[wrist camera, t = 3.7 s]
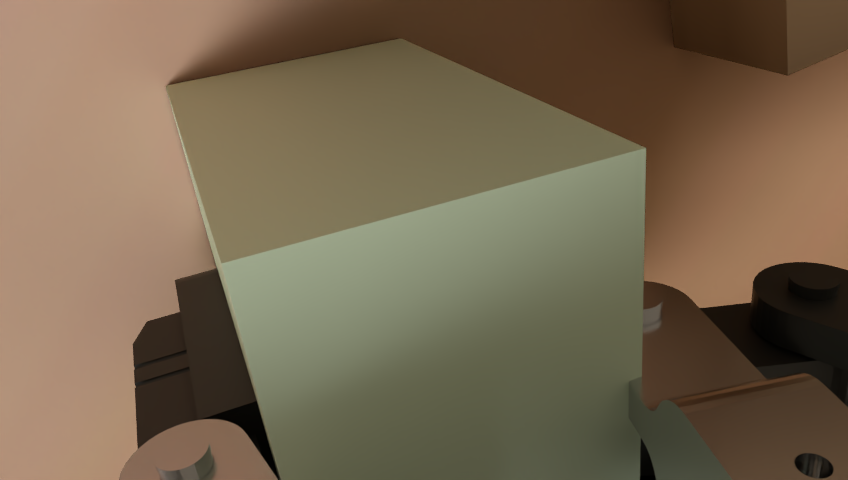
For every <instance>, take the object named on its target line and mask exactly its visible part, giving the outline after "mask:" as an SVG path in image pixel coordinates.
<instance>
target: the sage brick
mask: <svg viewBox="0 0 848 480" xmlns="http://www.w3.org/2000/svg"><path fill="white" fill-rule="evenodd" d="M166 90H167V93H168V97H169V100H170V104H171V107H172V111H173V115H174V118H175V122H176V125H177V129H178V132H179V136H180V139H181V143H182V146H183V150H184V154H185V157H186V161H187V164H188V168H189V171H190V175H191V178H192V182H193V185H194V189H195V193H196V196H197V200H198V203H199V207H200V210H201V214H202V217H203V221H204V225H205V228H206V232H207V235H208V239H209V242H210V246H211V249H212V253H213V256H214V260H215V264H216V267H217V269H218V272H219V276H220V279H221V282H222V286H223V289H224V292H225V296H226V299H227V302H228V306H229V309H230V312H231V316H232V319H233V322H234V326H235V329H236V333H237V336H238V339H239V343H240V346H241V349H242V353H243V356H244V359H245V363H246V366H247V369H248V373H249V376H250V379H251V383H252V386H253V389H254V393H255V396H256V399H257V403H258V406H259V410H260V414H261V417H262V421H263V424H264V428H265V431H266V435H267V439H268V442H269V446H270V449H271V453H272V456H273V460H274V464H275V467H276V471H277V474H278V478H279V480H640V446H641V437H640V435H639V434H638V432H637V431H636V429H635V427H634V426H633V424H632V423H631V421H630V419H629V418H628V412H629V381H631V380H634V379H636V378H639V377H642V340H643V287H644V234H645V181H646V148H645V147H643V146H641V145H638V144H636V143H634V142H632V141H629V140H627V139H625V138H623V137H621V136H618V135H616V134H614V133H612V132H609V131H607V130H605V129H603V128H600V127H598V126H596V125H594V124H591V123H589V122H587V121H585V120H583V119H580V118H578V117H576V116H574V115H571V114H569V113H567V112H565V111H562V110H560V109H558V108H556V107H554V106H551V105H549V104H547V103H545V102H542V101H540V100H538V99H536V98H533V97H531V96H529V95H527V94H524V93H522V92H520V91H518V90H516V89H513V88H511V87H509V86H507V85H504V84H502V83H500V82H498V81H495V80H493V79H491V78H489V77H487V76H484V75H482V74H480V73H478V72H475V71H473V70H471V69H469V68H466V67H464V66H462V65H460V64H457V63H455V62H453V61H451V60H449V59H446V58H444V57H442V56H440V55H437V54H435V53H433V52H431V51H428V50H426V49H424V48H422V47H420V46H417V45H415V44H413V43H411V42H408V41H406V40H404V39H402V38H400V39H395V40H390V41H385V42H380V43H375V44H370V45H365V46H360V47H355V48H350V49H345V50H340V51H335V52H330V53H325V54H320V55H316V56H311V57H306V58H301V59H296V60H291V61H286V62H281V63H276V64H271V65H266V66H261V67H256V68H251V69H246V70H241V71H236V72H231V73H226V74H221V75H216V76H211V77H206V78H201V79H196V80H191V81H186V82H181V83H177V84H172V85H167V86H166Z"/></svg>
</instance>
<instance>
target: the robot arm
mask: <svg viewBox="0 0 848 480" xmlns="http://www.w3.org/2000/svg"><path fill="white" fill-rule="evenodd" d="M175 283H176V289H177V295H178V302H179V308H180V312H179V313H175V314H172V315H168V316H165V317H161V318H158V319H154V320H151V321H147V322H146V324H145V326H144V327H143V329H142V330H141V332H140V334H139V335H138V337H137V339H136V340H135V342H134V343H133V355H134V367H135V370H134V377H135V386H136V388H135V399H136V421H137V443H138V450H137V451H136V452H135V453H134V454H133V455H132V456H131V457H130V458H129V460H128V461H127V462H126V464H125V466H124V468H123V469H122V471H121V474H120V478H119V480H279V478H278V474H277V471H276V467H275V464H274V460H273V456H272V453H271V449H270V446H269V442H268V439H267V435H266V431H265V428H264V424H263V421H262V417H261V414H260V410H259V406H258V403H257V399H256V396H255V393H254V389H253V386H252V383H251V379H250V376H249V373H248V369H247V366H246V363H245V359H244V356H243V353H242V349H241V346H240V343H239V339H238V336H237V333H236V329H235V326H234V322H233V319H232V316H231V312H230V309H229V306H228V302H227V299H226V296H225V292H224V289H223V286H222V282H221V279H220V276H219V272H218V269H213V270H210V271H206V272H202V273H199V274H195V275H191V276H188V277H184V278H180V279H177V280H175ZM628 418H629V419H630V421H631V423H632V424H633V426H634V427H635V429H636V431H637V432H638V434H639V435H640V437H641V446H640V480H848V270H845V269H841V268H838V267H834V266H829V265H825V264H818V263H807V262H793V263H784V264H778V265H775V266H771V267H769V268H766V269H764V270H763V271H761V272H760V273H758V275H757V276H756V277H755V279H754V281H753V290H752V301H751V303H745V304H736V305H727V306H718V307H709V308H699V307H698V306H697V305H696V304H695V303H694V302H693V301H692V300H691V299H690V298H689V297H688V296H687V295H686V294H684V293H683V292H681V291H679V290H677V289H675V288H673V287H670V286H667V285H664V284H660V283H655V282H648V281H644V287H643V340H642V377H639V378H636V379H634V380H631V381H629V412H628Z"/></svg>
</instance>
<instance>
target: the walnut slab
mask: <svg viewBox="0 0 848 480" xmlns="http://www.w3.org/2000/svg"><path fill="white" fill-rule="evenodd" d="M670 10H671V21H672V31H673V41H674V47H677V48H681V49H685V50H689V51H693V52H697V53H701V54H705V55H709V56H713V57H717V58H720V59H724V60H728V61H732V62H736V63H740V64H744V65H748V66H752V67H756V68H760V69H764V70H768V71H772V72H776V73H780V74H784V75H790V74H792V73H795V72H797V71H799V70H801V69H804V68H806V67H808V66H811V65H813V64H815V63H817V62H820V61H822V60H824V59H827V58H829V57H831V56H833V55H836V54H838V53H840V52H843V51H845V50H847V49H848V0H670Z"/></svg>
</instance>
